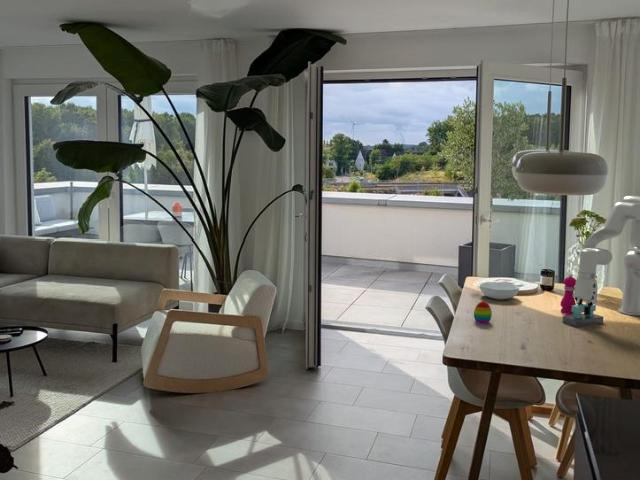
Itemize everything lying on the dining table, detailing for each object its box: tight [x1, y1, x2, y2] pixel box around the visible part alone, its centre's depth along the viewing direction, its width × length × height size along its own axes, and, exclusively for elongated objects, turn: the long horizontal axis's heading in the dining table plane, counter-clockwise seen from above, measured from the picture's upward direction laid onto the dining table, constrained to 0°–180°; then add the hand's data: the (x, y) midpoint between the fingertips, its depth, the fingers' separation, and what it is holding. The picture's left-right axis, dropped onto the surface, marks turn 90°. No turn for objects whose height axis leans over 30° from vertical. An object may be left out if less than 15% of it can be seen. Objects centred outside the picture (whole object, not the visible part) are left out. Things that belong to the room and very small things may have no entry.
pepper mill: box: [559, 273, 577, 315], centre depth 329 cm, size 7×7×20 cm
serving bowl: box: [479, 281, 520, 301], centre depth 359 cm, size 21×21×7 cm
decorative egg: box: [473, 300, 493, 324], centre depth 309 cm, size 8×8×10 cm
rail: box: [562, 313, 604, 328], centre depth 313 cm, size 18×8×3 cm, turn 117°
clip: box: [571, 303, 597, 319], centre depth 312 cm, size 12×4×6 cm, turn 117°
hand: (583, 313), depth 313 cm, fingers closed on clip, 3 cm apart
